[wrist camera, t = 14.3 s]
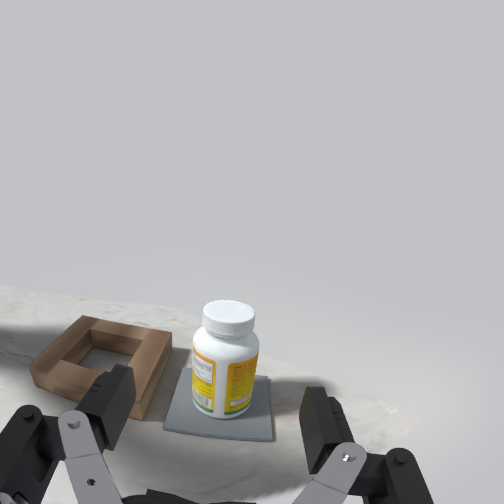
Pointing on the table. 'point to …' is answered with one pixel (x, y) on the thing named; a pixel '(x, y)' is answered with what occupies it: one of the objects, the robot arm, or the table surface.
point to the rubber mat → (237, 428)
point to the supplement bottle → (224, 359)
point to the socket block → (108, 338)
